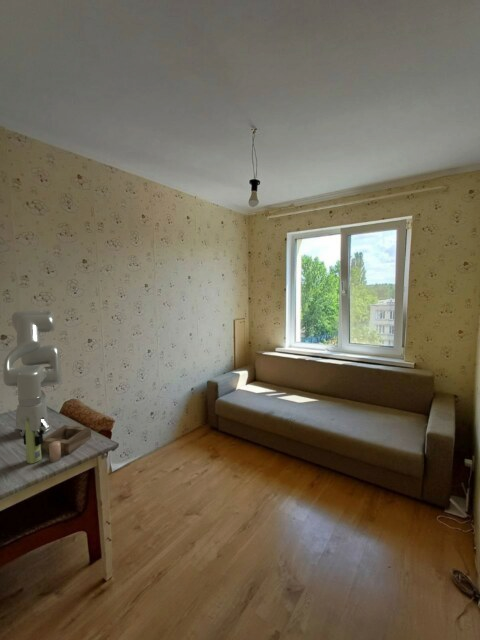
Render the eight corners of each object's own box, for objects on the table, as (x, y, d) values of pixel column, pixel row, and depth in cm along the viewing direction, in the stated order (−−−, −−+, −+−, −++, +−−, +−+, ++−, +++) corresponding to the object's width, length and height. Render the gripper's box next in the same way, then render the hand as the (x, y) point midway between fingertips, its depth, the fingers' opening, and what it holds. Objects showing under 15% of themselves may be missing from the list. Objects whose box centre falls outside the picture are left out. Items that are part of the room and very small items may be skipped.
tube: (24, 460, 118) (21, 414, 116) (39, 454, 122) (36, 411, 120) (28, 465, 115) (25, 419, 113) (43, 460, 119) (40, 414, 116)
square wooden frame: (40, 451, 125) (40, 440, 124) (65, 435, 139) (64, 425, 138) (69, 454, 123) (68, 443, 122) (91, 437, 136) (90, 427, 136)
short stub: (47, 461, 118) (46, 445, 117) (55, 456, 121) (54, 440, 121) (56, 462, 117) (54, 446, 116) (63, 457, 121) (62, 441, 120)
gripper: (3, 403, 113) (7, 446, 115) (40, 406, 111) (43, 450, 113) (20, 396, 121) (24, 437, 123) (56, 399, 118) (58, 440, 120)
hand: (33, 443), depth 118 cm, fingers closed on tube, 4 cm apart
